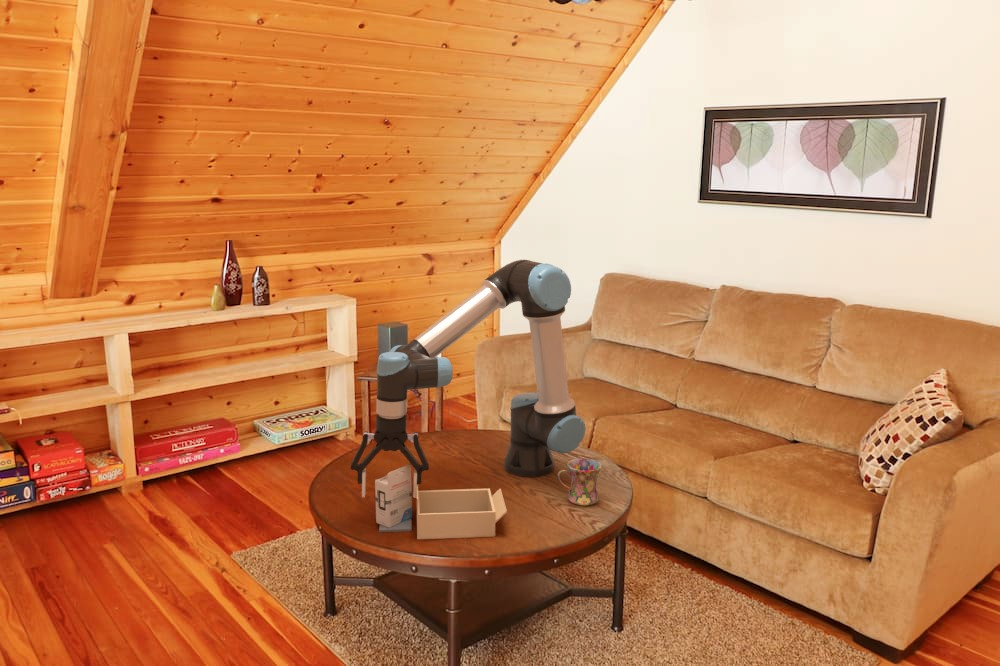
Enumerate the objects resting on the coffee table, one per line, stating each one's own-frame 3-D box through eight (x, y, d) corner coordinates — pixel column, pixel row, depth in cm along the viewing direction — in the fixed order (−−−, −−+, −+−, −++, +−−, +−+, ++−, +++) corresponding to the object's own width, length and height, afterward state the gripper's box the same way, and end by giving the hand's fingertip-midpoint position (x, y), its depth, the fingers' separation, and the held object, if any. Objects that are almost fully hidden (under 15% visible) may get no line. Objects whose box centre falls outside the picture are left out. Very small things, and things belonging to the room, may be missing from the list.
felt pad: (411, 512, 215) (411, 510, 215) (411, 531, 205) (411, 528, 205) (380, 513, 214) (380, 511, 214) (379, 532, 204) (379, 530, 204)
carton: (499, 506, 219) (499, 470, 217) (506, 535, 203) (507, 496, 201) (416, 509, 217) (416, 472, 215) (417, 539, 200) (416, 499, 198)
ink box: (399, 511, 214) (398, 459, 211) (412, 517, 211) (412, 463, 208) (375, 522, 208) (373, 468, 204) (388, 528, 205) (387, 473, 201)
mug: (594, 493, 229) (596, 457, 227) (604, 507, 220) (606, 470, 218) (553, 495, 227) (554, 459, 225) (561, 509, 218) (562, 472, 216)
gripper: (439, 410, 208) (436, 489, 213) (342, 408, 206) (341, 489, 210) (440, 419, 201) (437, 501, 206) (340, 418, 198) (339, 501, 203)
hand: (389, 495), depth 208 cm, fingers open, 12 cm apart
